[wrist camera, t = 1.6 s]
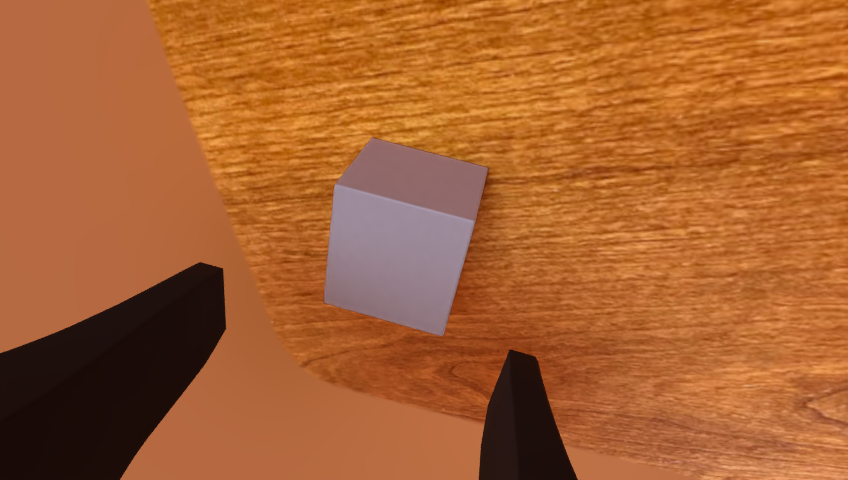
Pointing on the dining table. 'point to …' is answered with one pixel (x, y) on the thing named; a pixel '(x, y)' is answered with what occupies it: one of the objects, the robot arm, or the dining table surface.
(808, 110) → the dining table surface
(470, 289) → the dining table surface
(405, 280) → the cube
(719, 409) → the dining table surface
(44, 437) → the robot arm
